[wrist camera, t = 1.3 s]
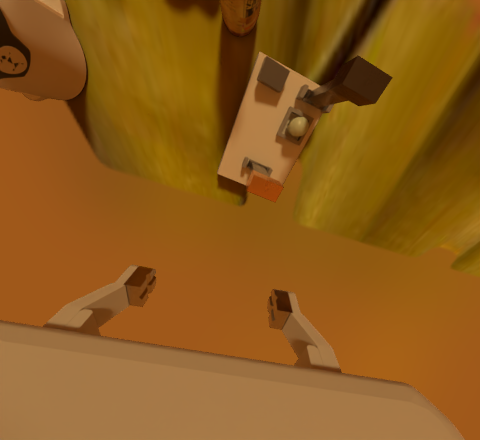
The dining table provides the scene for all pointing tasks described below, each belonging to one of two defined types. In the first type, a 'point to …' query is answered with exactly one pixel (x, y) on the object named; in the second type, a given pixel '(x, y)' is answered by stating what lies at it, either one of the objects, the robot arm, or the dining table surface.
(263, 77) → the block
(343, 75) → the lever black
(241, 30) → the sauce bottle
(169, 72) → the dining table surface
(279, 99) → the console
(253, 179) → the lever orange
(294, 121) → the push button
